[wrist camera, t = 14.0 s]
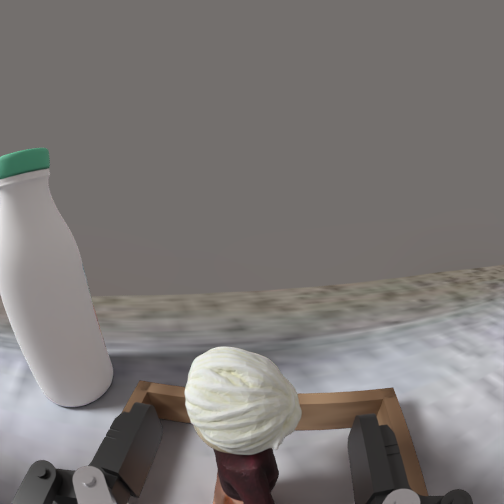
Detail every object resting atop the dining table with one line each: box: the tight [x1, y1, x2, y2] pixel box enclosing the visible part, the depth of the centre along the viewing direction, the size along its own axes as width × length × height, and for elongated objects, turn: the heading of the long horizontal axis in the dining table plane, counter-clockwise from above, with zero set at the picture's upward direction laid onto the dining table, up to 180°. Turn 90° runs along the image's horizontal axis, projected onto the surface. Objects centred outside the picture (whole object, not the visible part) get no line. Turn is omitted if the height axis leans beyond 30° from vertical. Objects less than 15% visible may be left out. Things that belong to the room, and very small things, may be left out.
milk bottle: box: [0, 148, 113, 407], centre depth 18 cm, size 8×8×20 cm
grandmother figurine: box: [185, 347, 302, 504], centre depth 9 cm, size 8×4×13 cm, turn 21°
